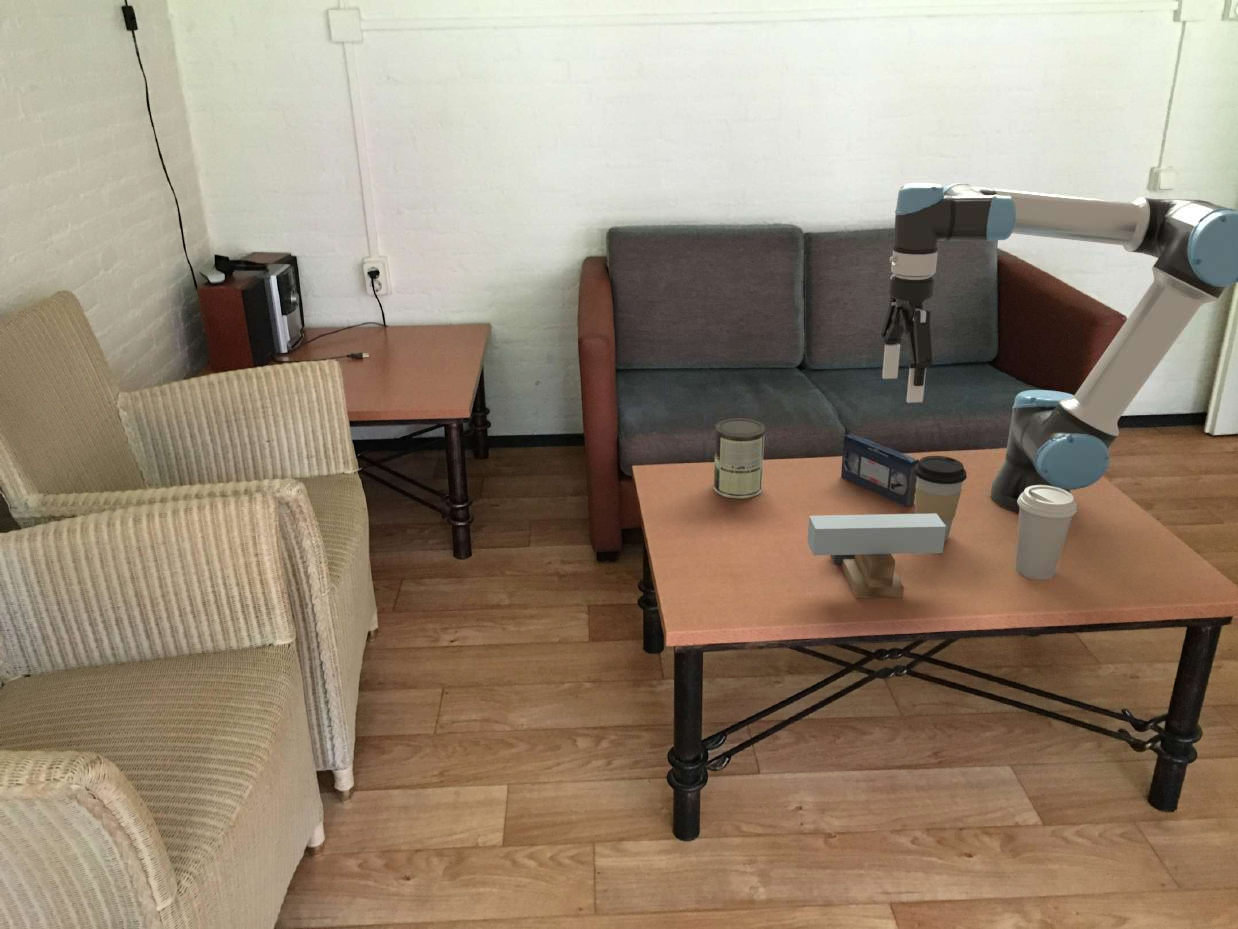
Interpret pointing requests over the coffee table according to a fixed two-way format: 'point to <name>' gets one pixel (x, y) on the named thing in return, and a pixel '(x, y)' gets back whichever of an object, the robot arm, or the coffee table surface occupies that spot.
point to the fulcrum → (873, 576)
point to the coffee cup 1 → (939, 487)
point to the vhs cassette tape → (879, 469)
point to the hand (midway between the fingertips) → (901, 389)
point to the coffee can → (738, 458)
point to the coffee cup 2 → (1042, 529)
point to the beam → (876, 534)
